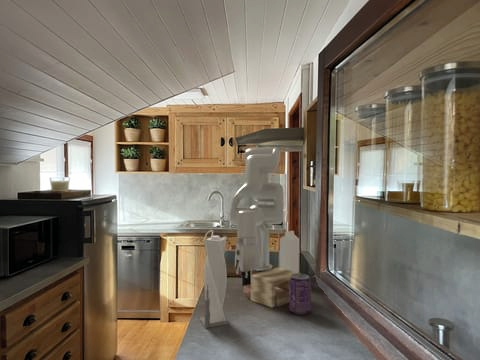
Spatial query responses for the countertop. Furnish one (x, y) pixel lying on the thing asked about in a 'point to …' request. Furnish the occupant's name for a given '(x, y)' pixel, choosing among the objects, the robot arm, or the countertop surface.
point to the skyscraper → (214, 281)
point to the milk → (289, 252)
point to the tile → (248, 289)
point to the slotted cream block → (271, 287)
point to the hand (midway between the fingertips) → (246, 286)
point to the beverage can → (300, 294)
